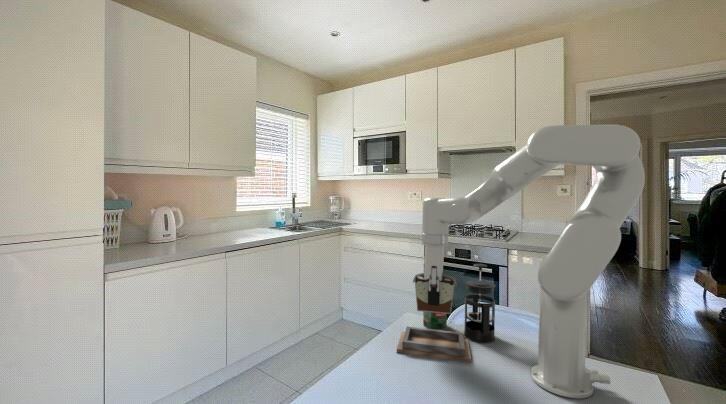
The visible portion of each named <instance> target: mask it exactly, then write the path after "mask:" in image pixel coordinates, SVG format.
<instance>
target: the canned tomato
mask: <svg viewBox="0 0 726 404" xmlns="http://www.w3.org/2000/svg"><path fill="white" fill-rule="evenodd" d="M422 312H423V311H422ZM422 315H423V319H422V320H423V321H422V323H423V325H422V326H423V327H424V328H425V327H426V328H425V329H427V328H428V329H434V330H443V331H445V330H446V329H447V327H448V326H447V322H448V320H447V316H448V315H447V314H445V313H434V312H423V313H422Z"/></svg>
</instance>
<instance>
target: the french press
mask: <svg viewBox="0 0 726 404" xmlns="http://www.w3.org/2000/svg"><path fill="white" fill-rule="evenodd" d="M473 266H474V267H477V268H478V272H479V279H469V280H466V281H465V285H466V290H467V291H468V292H469V293H473V294H468V295H465V297H464V331H463V337H465V339H468V341H469V340H470V341H472V342H475V343H481V344H490V343H493V342H495V340H496V336H495V332H496V331H495V316H496V315H495V311H496V299H495V298H493V297H490V296H487V295H490V294H494V291H495V290H494V289H495V288H496V284H495V283H493V282H491V281H487V280H482V271H483V268H487V267H488V265H487V264H483V263H474V264H473ZM471 299H472V300H471ZM481 300H485V301H488V302H490V303H487V302H486V303H484V302H483V303H482V302H481ZM468 306H471V307H472V311H468ZM490 309H491V310H490ZM490 313H491V314H490Z"/></svg>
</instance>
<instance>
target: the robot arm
mask: <svg viewBox="0 0 726 404" xmlns="http://www.w3.org/2000/svg"><path fill="white" fill-rule="evenodd" d="M641 145H642V144H641V139H640V136H639V135H638V133H637V132H636V131H635V130H634V129H632V128H630V127H628V126H627V125H622V124H621V125H620V124H610V123H609V124H565V125H564V124H563V125H562V124H561V125H560V124H557V125H547V126H542V127H541V128H539V129H537V130H535V131H533V133H532V134H531V135H530V136H529V138H528V140H527V143H526V144H525V145H524V146H522V147H521V148H520V149H519V150H517V151H516V152H514V153H512V155H510V156H509V157H507V158H506V159H504V161H502V162H500V163H499V164H498V165H496V166H495V168H494V169H493V170H492V171H491V173H490V175H489V177H488V178H487V179H486V181H485V182H483V183H482V184H481V185H480V186H479V187H478V188H476V189H475V190H474V191H472V192H471V193H469V194H467V195H466V196H464V197H461V196H460V197H459V196H458V197H449V198H445V197H427V198H424V199H423V202H422V218H421V219H422V224H421V226H422V227H421V228H422V231H421V245H422V246H425V248H424V269H423V271H424V272H423V273H424V280H426V279H429V290H428V305H435V306H439V300H440V291H439V281H441V279H442V274H443V271H444V259H445V254H444V253H445V247H449V232H450V231H449V228H450V226H449V225H450V224H452V225H457V226H458V225H459V226H462V225H466V224H467V225H468V224H469V223H470V224H471V223H475V222H476V221H477V220H479V219H481V218H482V217H484V216H485V215H486V214H488V213H490V212H492V210H494V209H495V208H497V207H499V206H500V205H501V204H503V203H504V202H506V201H507V200H509V199H511V198H512V197H514V196H516V194H518V193H519V192H521V191H522V190H524V189H525V188H526V187H528V186H529V185H530V184H532V183H534V182H536V181H537V180H538V179H540V178H541V177H543V176H544V175H546V174H548V173H549V172H550V171H552V170H553V169H556V168H557V167H558V166H560V165H565V166H567V165H569V166H586V167H587V166H590V167H592V168H594V170H595V174H596V175H595V181H594V183H593V184H592V186H591V188H590V190H589V191H588V193H587V195H586V197H585V198H584V200H583V201H582V202H581V204H580V205H579V207H578V209H577V210H576V212H575V213H574V214H572V216H571V217H570V218H569V220H568V221H567V223H566V225H565V227H564V230H562V233H561V234H560V236H559V237H558V239H556V242H555V243H554V245H553V246H552V248H551V249H550V251H549V253H547V254H545V256H544V257H543V258H542V259H541V260H540V261H541V262H540V264H539V267H538V271H537V280H538V283H539V303H538V304H539V305H538V306H539V308H538V309H539V310H538V311H539V312H538V346H537V347H538V349H537V350H538V351H537V353H538V354H537V360H538V361H537V364H536V365H534V366H532V367H531V368H530V377H531V379H532V380H533V381H534V383H536V385H538V386H539V387H541V388H542V389H544V390H546V391H548V392H549V393H553V394H555V395H558V396H561V397H563V398H565V397H566V398H570V399H586V398H589V397H591V396H592V395H593V394H594V385H593V384H595V383H600V384H605V385H610V384H611V378H610V375H609V374H603V373H599V372H598V369H594V368H587V367H586V351H587V350H586V349H587V348H586V347H587V346H586V345H587V319H588V317H587V316H588V313H587V312H588V311H587V310H588V291H590V289H591V288H592V287H593V285H594V284H595V283H596V281H597V280H598V279H599V277H600V276H601V274H602V273H603V271H604V270H605V269H606V267H607V265H609V263H610V262H611V260H612V259H613V257H614V256H615V255H616V253H617V251H618V250H619V247H620V244H621V241H622V232H621V227H622V225H623V224H624V222H625V221H626V219H627V217H629V215H630V213H631V212H632V210H633V208H634V206H635V205H636V203H637V202H638V200H639V198H640V196H641V195H642V193H643V190H644V188H645V183H646V182H645V181H646V175H645V174H646V173H645V168H644V165H643V162H642V160H641V158H640V157H639V155H638V154H639V152H640V150H641ZM431 278H432V280H431ZM436 278H438V280H436ZM436 283H437V284H436Z"/></svg>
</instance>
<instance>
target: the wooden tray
mask: <svg viewBox="0 0 726 404" xmlns="http://www.w3.org/2000/svg"><path fill="white" fill-rule="evenodd" d="M398 352H399V353H400V354H405V353H407V354H408V355H414V356H415V355H416V356H422V357H428V358H429V357H430V358H436V359H442V360H449V361H450V360H451V361H459V362H466V363H467V362H468V363H472V356H471V351H470V345H469V339H467V338H464V332H459V331H450V330H449V331H448V330H434V329H427V328H425V327H424V328H423V327H414V326H406V328H405V331H401V333H400V337H399V340H398V343H397V345H396V353H398ZM407 354H406V355H407Z"/></svg>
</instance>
